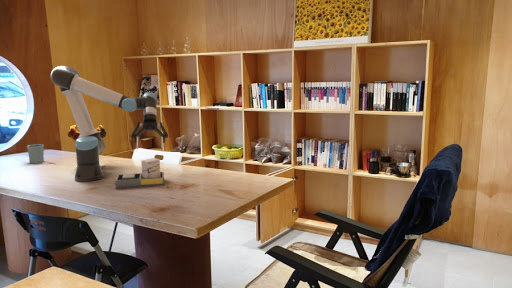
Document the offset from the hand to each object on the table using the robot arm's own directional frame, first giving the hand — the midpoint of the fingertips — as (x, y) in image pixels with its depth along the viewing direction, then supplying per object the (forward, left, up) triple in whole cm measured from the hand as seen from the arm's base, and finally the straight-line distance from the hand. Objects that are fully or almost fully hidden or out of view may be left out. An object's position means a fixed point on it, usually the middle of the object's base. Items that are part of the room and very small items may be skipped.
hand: (150, 147), depth 221 cm
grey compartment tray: (-5, -12, -18) cm, 22 cm away
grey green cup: (-77, +69, -18) cm, 105 cm away
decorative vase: (-39, +43, -18) cm, 61 cm away
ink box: (0, -12, -16) cm, 20 cm away
